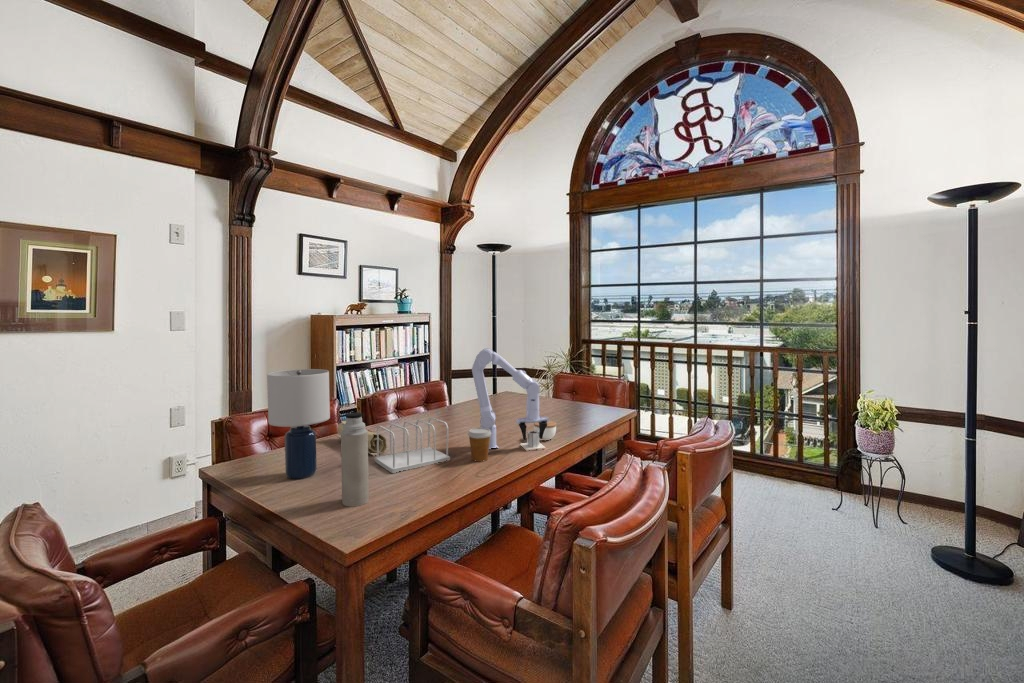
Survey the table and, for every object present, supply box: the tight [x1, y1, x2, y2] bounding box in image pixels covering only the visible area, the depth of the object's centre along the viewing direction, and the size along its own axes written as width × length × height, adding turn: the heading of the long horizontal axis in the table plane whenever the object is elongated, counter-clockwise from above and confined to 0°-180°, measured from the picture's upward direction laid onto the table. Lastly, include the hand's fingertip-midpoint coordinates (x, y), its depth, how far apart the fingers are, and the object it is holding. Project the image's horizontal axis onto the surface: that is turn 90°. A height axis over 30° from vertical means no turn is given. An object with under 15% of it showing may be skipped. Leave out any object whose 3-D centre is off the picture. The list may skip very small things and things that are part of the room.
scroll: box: [334, 420, 388, 457], centre depth 201 cm, size 11×34×10 cm, turn 42°
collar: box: [526, 430, 540, 447], centre depth 200 cm, size 5×5×6 cm
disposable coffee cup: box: [467, 427, 491, 462], centre depth 184 cm, size 10×10×12 cm
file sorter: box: [374, 416, 451, 474], centre depth 181 cm, size 25×17×16 cm
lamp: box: [266, 368, 331, 480], centre depth 165 cm, size 20×20×39 cm
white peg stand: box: [520, 441, 547, 450], centre depth 201 cm, size 9×9×4 cm
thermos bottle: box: [340, 412, 370, 507], centre depth 142 cm, size 8×8×28 cm
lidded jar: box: [533, 420, 557, 440], centre depth 215 cm, size 11×11×9 cm
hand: (532, 438), depth 200 cm, fingers open, 7 cm apart
